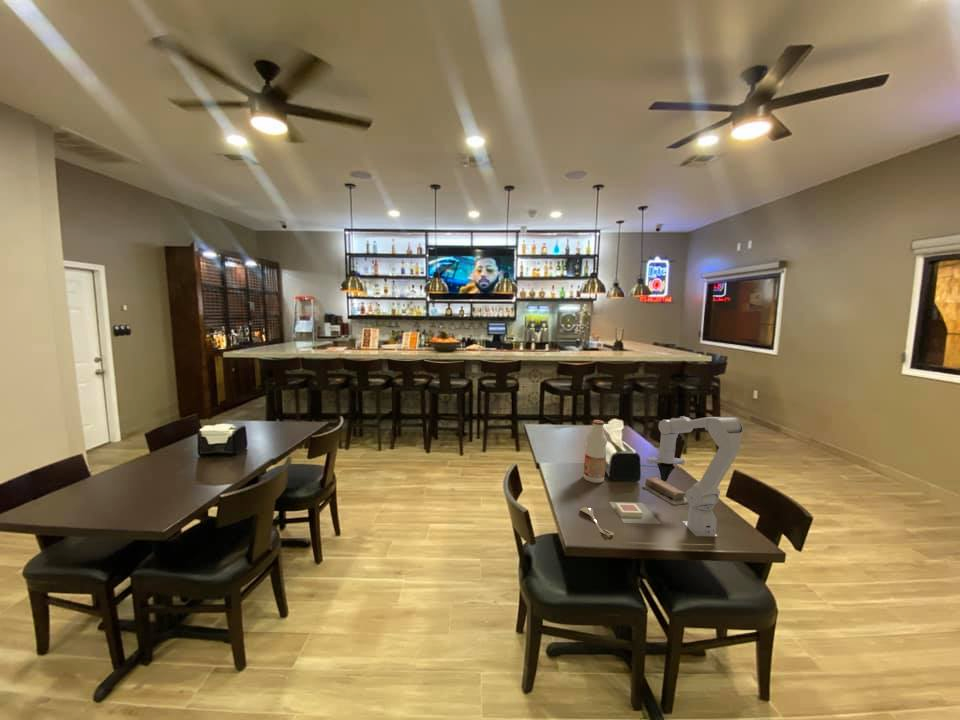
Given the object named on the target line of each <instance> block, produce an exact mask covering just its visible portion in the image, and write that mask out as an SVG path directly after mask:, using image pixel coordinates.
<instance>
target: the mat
mask: <svg viewBox="0 0 960 720" xmlns="http://www.w3.org/2000/svg"><path fill="white" fill-rule="evenodd" d="M608 503H609V505H611V507H612V509H613V510H614V511H615V512H616V514H617V515H618V517H619V518H620V520H621V521H622V522H623V524H650V525H653V524H655V525H661V524H662V523H661V522H660V521H659V520H658V519H657V518H656V517H655V515H654V514H653V513H652V511H650V509H648V508H647V506H646V505H645V504H644V503H643V502H631V501H630V502H626V501H623V502H622V501H608ZM616 503H627V504H636V505H637V506H638V507H639V509H640V510H641V511H642V512H643V517H622V516H621V515H620V513H619V512H618V510H617V509H616V508H615V505H616Z"/></svg>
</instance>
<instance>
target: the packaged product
mask: <svg viewBox="0 0 960 720" xmlns="http://www.w3.org/2000/svg"><path fill="white" fill-rule="evenodd" d="M641 487H642V488H643V489H645V490H646V491H649V492H651V493H652V494H654V495H656V496H657V497H659V498H660V499H662V500H664V501H666V502H667V503H669V504H671V505H674V506H675V505H684V504H688V502H687V499H686V492H684V491H682V490H680V489H678V488H677V487H674V486H673V485H671V484H669V483H667V481H662V480H661V478H658V477H648V478H646V479H645V484H642V486H641Z"/></svg>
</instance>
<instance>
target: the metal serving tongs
mask: <svg viewBox="0 0 960 720" xmlns="http://www.w3.org/2000/svg"><path fill="white" fill-rule="evenodd" d="M580 511H581V512H583V513H584V514H587V515H588V516H590V517H591V519H593V522H594V523H595V525H596V527H597V528H598V529H599V532H601V533H602V534H603V535H605V536H614V535H615V533H614V532H613V531H609V530H608V529H605V528H603V529H602V527H601V525H600V524H599V522H598V521H597V520H596V517H595V515H594V509H593V508H592V507H589V506H586V507H585V506H583V507H582V508H580Z"/></svg>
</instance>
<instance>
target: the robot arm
mask: <svg viewBox="0 0 960 720" xmlns="http://www.w3.org/2000/svg"><path fill="white" fill-rule="evenodd" d="M699 428H701V429H702V428H704V430H705V431H706V432H708V433H709V435H710V437H711V438H712V440H713V441H714V443H715V444H716V446H718V449H717V451H716V453H715V455H714V456H713V458H712V459H711V462H710V463H709V465H708V467H707V469H706V470H705V472H704V474H703V475H702V477H701V480H699V481H697V482H696V483H694V484H693V485H692V486H691V488H688V489H687V490H686V492H685V498H686V499H687V502H688V503H687V504H688V505H689V507H688V515H687V520H683V521H681V523H683V525H684V526H685V527H687V529H689V531H690V532H691V533H692V534H693V535H694V536H696V537H716V538H718V534H717V523H718V519H717V517H716V515H715V514H714V512H713V508H714V507H715V505H716V504H717V503H719V498H720V494H721V490H720V488H719V486H720V484H721V482H722V481H723V479H724V477H725V476H726V475H727V473H728V471H729V470H730V468H731V466H732V465H733V463H734V461H735V459H736V458H737V456H738V454H739V452H740V451H741V450H740V449H741V441H742V437H743V434H745V428H744V426H743V423H742V421H741V420H740V419H739V418H738V417H735V416H729V417H726V416H705V417H700V418H694V419H691V418H690V417H686V416H685V415H683V416H679V417H677V418H676V417H671V418H670V419H662V420H660V421H659V422H658V430H659V432H660V442H659V448H658V449H659V451H658V456H652V457H651V456H650V457H647V460H646V462H647V463H648V464H650V465H652V464H656V465H657V468H658V470H659V474H660V480H662V481H664V482H667V481H668V479H669V476H670V475H671V473H672V471H674V469H675V465H681V466H685V461H686V460H685V459H684V458H678V457H675V454H676V446H677V445H676V443H677V438H678V437H679V434H684V433H685V434H687V433H692V431H693V430H694V429H699Z"/></svg>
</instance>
